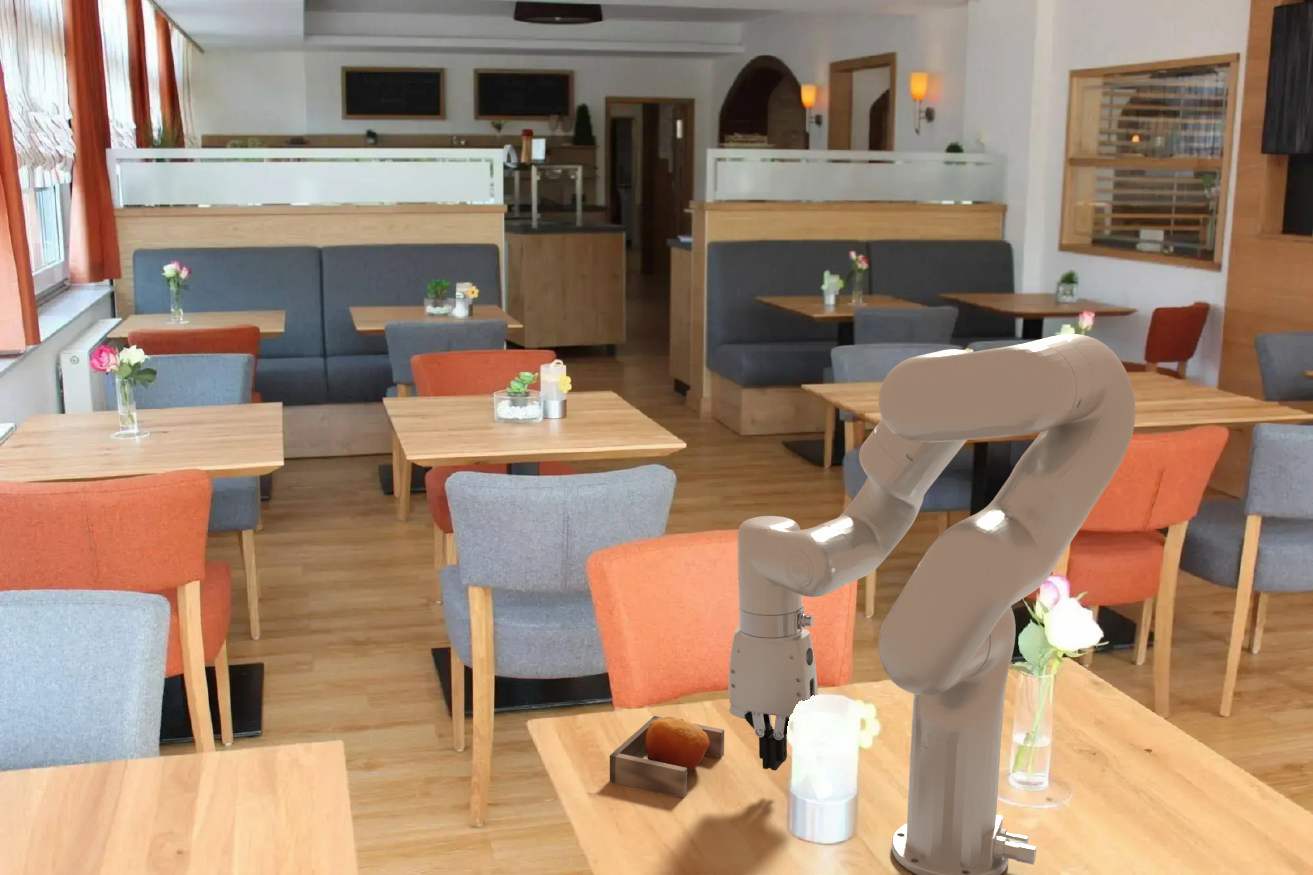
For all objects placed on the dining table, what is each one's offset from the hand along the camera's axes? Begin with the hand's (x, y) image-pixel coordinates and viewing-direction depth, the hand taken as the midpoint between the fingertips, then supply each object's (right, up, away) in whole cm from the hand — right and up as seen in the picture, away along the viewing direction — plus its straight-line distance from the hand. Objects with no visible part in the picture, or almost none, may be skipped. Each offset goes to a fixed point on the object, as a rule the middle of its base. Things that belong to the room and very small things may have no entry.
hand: (773, 765), depth 156 cm
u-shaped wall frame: (-13, -2, +7) cm, 15 cm away
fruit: (-12, -2, +7) cm, 14 cm away
